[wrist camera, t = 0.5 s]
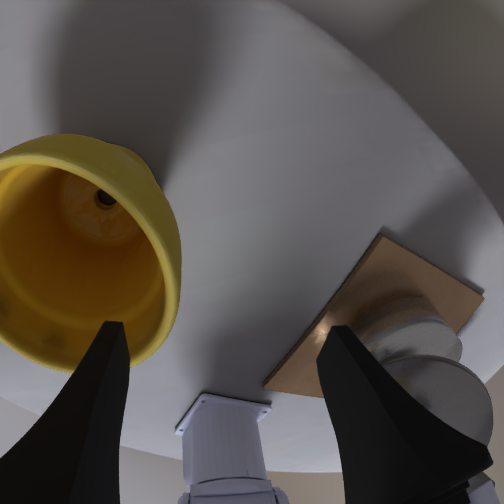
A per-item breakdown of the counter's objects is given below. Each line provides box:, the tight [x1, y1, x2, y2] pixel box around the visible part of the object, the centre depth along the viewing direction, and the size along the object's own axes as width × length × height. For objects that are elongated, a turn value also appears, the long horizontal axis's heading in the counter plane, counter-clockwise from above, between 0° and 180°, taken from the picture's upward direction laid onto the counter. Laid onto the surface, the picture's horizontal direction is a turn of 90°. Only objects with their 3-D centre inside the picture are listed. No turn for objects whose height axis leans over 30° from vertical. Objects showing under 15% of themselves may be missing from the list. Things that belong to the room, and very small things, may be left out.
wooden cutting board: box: [262, 233, 485, 398], centre depth 27 cm, size 18×20×5 cm
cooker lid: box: [381, 355, 495, 493], centre depth 18 cm, size 17×13×1 cm
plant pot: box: [0, 134, 182, 374], centre depth 14 cm, size 10×10×10 cm
